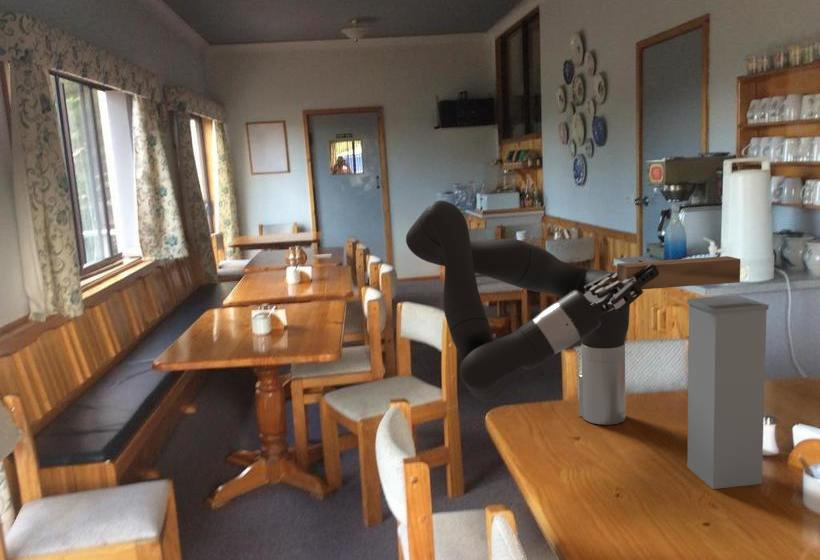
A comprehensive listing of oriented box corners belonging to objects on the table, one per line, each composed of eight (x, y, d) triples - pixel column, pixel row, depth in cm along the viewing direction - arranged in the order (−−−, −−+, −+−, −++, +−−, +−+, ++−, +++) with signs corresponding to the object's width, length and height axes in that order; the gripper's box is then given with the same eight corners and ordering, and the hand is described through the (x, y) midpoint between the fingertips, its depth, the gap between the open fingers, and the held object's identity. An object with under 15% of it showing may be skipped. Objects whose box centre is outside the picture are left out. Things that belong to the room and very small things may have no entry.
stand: (685, 467, 133) (687, 298, 128) (733, 462, 134) (737, 294, 129) (712, 489, 124) (715, 309, 119) (763, 484, 125) (768, 304, 120)
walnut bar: (617, 286, 123) (616, 263, 123) (727, 278, 125) (727, 256, 125) (626, 290, 120) (626, 266, 119) (739, 282, 122) (740, 259, 121)
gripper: (568, 312, 114) (658, 253, 114) (542, 296, 128) (622, 243, 128) (591, 350, 115) (680, 292, 115) (563, 330, 129) (642, 278, 129)
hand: (649, 266), depth 121 cm, fingers closed on walnut bar, 4 cm apart
